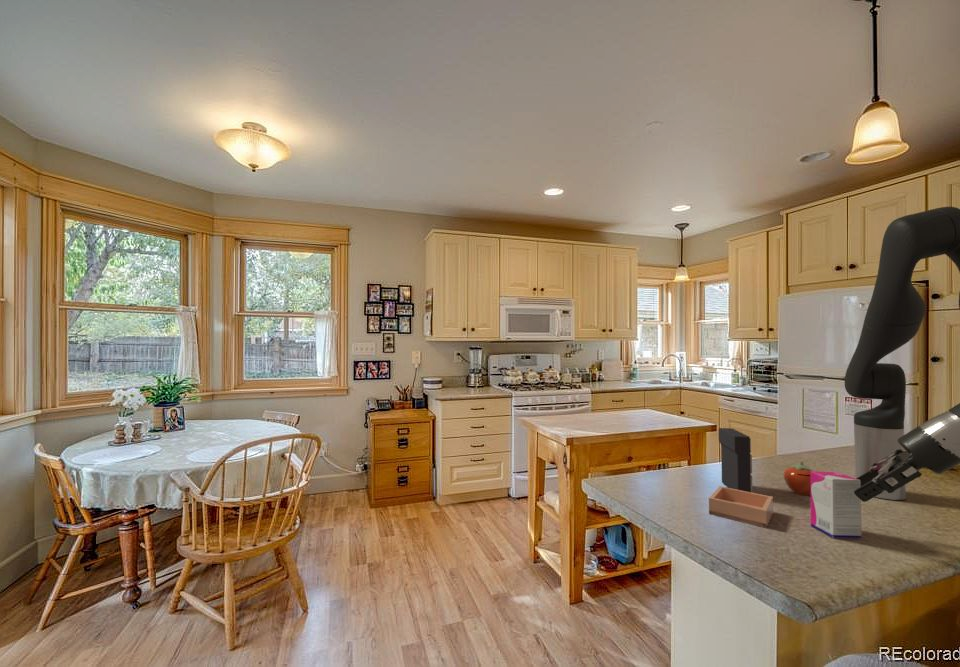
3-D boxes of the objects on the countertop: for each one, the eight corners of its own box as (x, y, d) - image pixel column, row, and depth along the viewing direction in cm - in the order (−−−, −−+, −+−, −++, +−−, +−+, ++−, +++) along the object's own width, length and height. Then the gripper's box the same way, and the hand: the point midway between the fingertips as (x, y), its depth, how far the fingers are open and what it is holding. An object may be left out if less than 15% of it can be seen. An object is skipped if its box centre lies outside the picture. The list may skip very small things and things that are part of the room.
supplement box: (863, 538, 80) (861, 479, 81) (832, 538, 80) (831, 479, 81) (837, 525, 86) (836, 470, 86) (809, 525, 86) (808, 470, 86)
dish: (720, 500, 100) (719, 486, 100) (773, 512, 93) (772, 496, 93) (709, 513, 92) (708, 498, 92) (766, 527, 85) (766, 510, 85)
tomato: (791, 496, 103) (790, 463, 103) (778, 486, 110) (778, 456, 110) (826, 499, 101) (825, 466, 101) (811, 488, 108) (810, 458, 108)
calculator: (754, 497, 102) (753, 436, 102) (735, 496, 103) (734, 436, 103) (736, 483, 113) (735, 428, 113) (719, 482, 113) (718, 427, 114)
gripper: (915, 420, 81) (839, 467, 88) (926, 430, 70) (839, 483, 78) (957, 451, 77) (874, 498, 84) (975, 468, 67) (879, 519, 74)
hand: (857, 491), depth 81 cm, fingers open, 8 cm apart
